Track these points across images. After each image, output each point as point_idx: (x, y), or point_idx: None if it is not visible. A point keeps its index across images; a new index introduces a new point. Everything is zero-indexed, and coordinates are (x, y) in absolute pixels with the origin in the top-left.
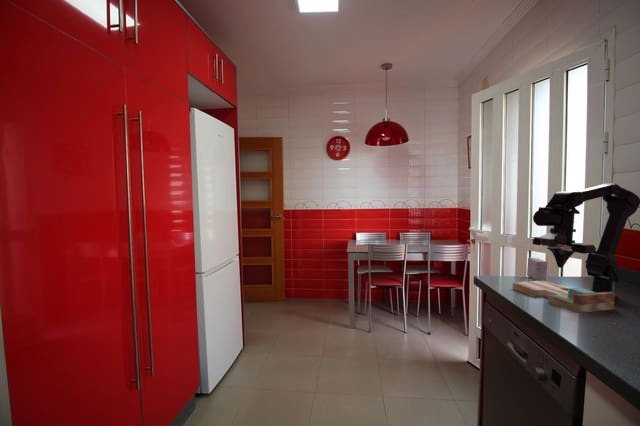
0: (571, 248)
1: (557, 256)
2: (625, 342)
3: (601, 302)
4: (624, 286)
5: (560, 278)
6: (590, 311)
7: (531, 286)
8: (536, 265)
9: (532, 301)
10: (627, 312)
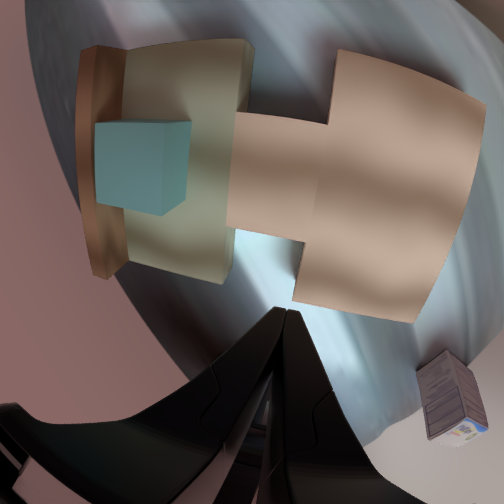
0: (26, 485)
1: (284, 417)
2: (33, 29)
3: None
4: None
5: (387, 421)
6: None
7: (403, 115)
8: (463, 402)
9: None
10: None
